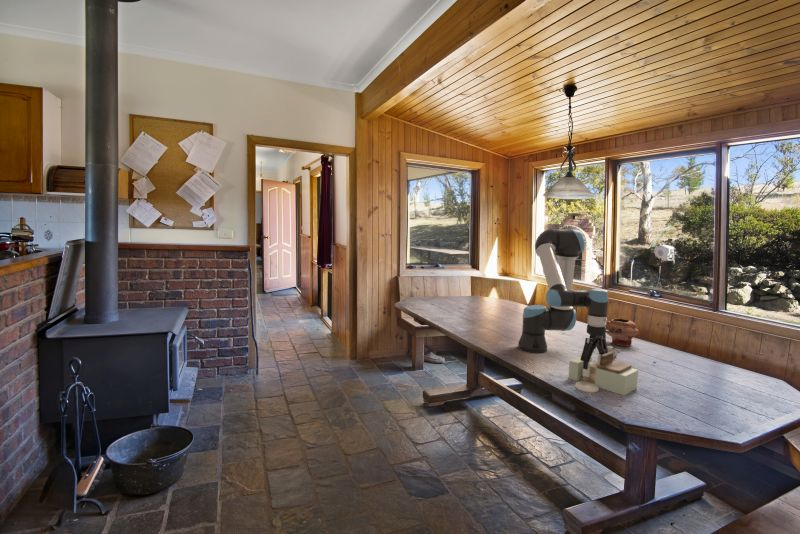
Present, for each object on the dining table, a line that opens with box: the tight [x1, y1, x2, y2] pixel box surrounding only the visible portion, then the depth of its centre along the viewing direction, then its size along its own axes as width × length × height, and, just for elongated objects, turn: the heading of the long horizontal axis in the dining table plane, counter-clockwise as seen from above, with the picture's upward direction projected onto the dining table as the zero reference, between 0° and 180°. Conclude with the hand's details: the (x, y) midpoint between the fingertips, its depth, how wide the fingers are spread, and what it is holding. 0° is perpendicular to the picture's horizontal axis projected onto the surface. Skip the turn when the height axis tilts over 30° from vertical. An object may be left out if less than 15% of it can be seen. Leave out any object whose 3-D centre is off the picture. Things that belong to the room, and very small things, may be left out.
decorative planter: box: [606, 318, 640, 347], centre depth 254 cm, size 20×12×14 cm, turn 53°
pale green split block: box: [567, 356, 639, 396], centre depth 192 cm, size 24×12×8 cm, turn 41°
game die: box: [598, 343, 621, 361], centre depth 223 cm, size 9×8×10 cm
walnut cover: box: [597, 352, 632, 373], centre depth 188 cm, size 9×12×5 cm
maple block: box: [582, 361, 599, 384], centre depth 196 cm, size 6×6×7 cm
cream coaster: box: [575, 381, 600, 394], centre depth 186 cm, size 9×9×1 cm
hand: (593, 373), depth 195 cm, fingers open, 13 cm apart
